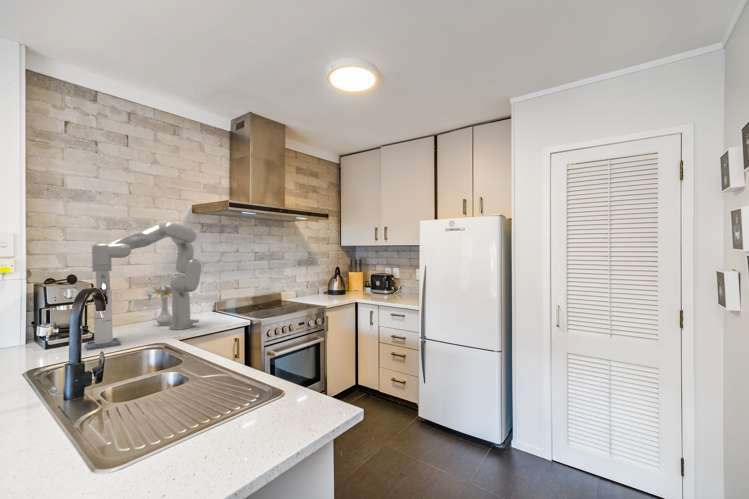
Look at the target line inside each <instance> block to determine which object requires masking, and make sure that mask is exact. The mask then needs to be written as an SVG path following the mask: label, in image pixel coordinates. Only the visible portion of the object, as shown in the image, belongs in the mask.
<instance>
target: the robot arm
mask: <svg viewBox="0 0 749 499" xmlns="http://www.w3.org/2000/svg"><path fill="white" fill-rule="evenodd" d="M165 238H170V239H171V240H172V242H173V243H174V244H175V245H176V247H177V258H176V262H175V263H176V264H175V270H176V272H177V273H178V274H181V275H176V276H174V277H172V279H171V280H170V281H169V282H170V283H169V287H170V289H171V293H172V294H171V312H172V314H171V315H172V322H171V325H170V326H169V330H171V331H172V330H173V331H175V330H176V331H177V330H178V331H179V330H185V329H186V330H187V329H191V328H193V327H194V324H199V322H200V319H198V318H197V319H191V297H190V293H192V292H194V291H196V290H197V289H198V287H199V284H200V278H201V275H202V273H201V272H202V263H201V262H200V260H199V259H197V258H194V254H195V250H194V245H193V244H192V243H193V242H195V241H196V239H197V233H196V231H195V230H194V229H192V228H189V227H186V226H184V225H180V224H178V223H175V222H159V223H157V224H155V225H153V226H150V227H149V228H146V229H144V230H141V231H139V232H137V233H134V234H130V235H128V236H125V237H122V238H120V239H117V240H114V241H113V242H110V243H94V244H93V245H92V246H91V260H92V261H91V262H92V263H91V265H92V268H91V269H92V273H95V285H96V289H97V288H98V289H100V290H101V291H102V293H103V295H104V297H105V301H106V304H108V296H107V291H111V279H110V278H111V277H110V272H112V269H113V268H112V259H122V258H126V257H128V256H130V254H131V252H132V250H135V249H141V248H145V247H149V246H151V245H153V244H154V243H157V242H159V241H160V240H163V239H165ZM183 274H184V275H183Z"/></svg>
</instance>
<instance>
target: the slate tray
mask: <svg viewBox="0 0 749 499" xmlns="http://www.w3.org/2000/svg"><path fill="white" fill-rule="evenodd" d="M121 345H122V342H121V340H120V339H119V337H113V341H112V342H108V343H103V344H95V342H94V340H92V341H85V349H86V351H92V350H93V351H94V350H98V349H105V348H106V349H107V348H110V347H116V346H117V347H118V346H121Z"/></svg>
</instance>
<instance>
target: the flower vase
mask: <svg viewBox="0 0 749 499" xmlns="http://www.w3.org/2000/svg"><path fill="white" fill-rule="evenodd" d="M145 291H146V295H147V296H148V301H149V302H150V301H151V299H152V296H153V299H157V297H158V296H160V298H161V312H160V313H159V315H158V316H157V318H156V323H157V324H159V326H161V327H163V326H169V325H170V326H171V325H172V314H171V313H170V312H169V309H168V308H169V307H168V306H169V305H168V299H169V300H170V299H172V293H171V289H170V286H167V285H163V288H162V285H161V286H160V287H158V288H157V287H153V292H149V291H147V290H145Z"/></svg>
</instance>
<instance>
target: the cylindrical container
mask: <svg viewBox="0 0 749 499" xmlns="http://www.w3.org/2000/svg"><path fill="white" fill-rule="evenodd" d="M112 294H113V293H112V291H111V290H110V291H108V290H107V296H108V304H106V311H105V312H104V313H103V315H104V317H103V318H101V315H100V314H99V313H97V312H96V311H95V304H94V303H93V329H94V330H93V333H94V334H93V335H94V336H93V337H94V338H93V341H94V342H95V344H103V343H108V342H112V341H113V338H114V337H113V335H114V334H113V303H112V301H113V296H112Z"/></svg>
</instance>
